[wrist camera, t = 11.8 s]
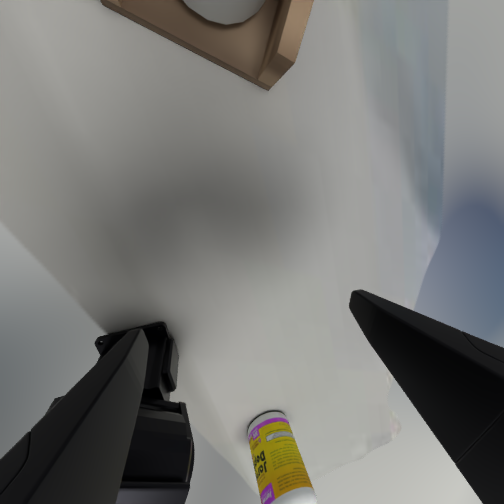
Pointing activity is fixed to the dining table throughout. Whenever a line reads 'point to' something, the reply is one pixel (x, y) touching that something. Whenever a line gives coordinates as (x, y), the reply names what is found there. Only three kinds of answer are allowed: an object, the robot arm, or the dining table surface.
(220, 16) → the can
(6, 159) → the dining table surface
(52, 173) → the dining table surface
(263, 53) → the u rest
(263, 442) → the supplement bottle
